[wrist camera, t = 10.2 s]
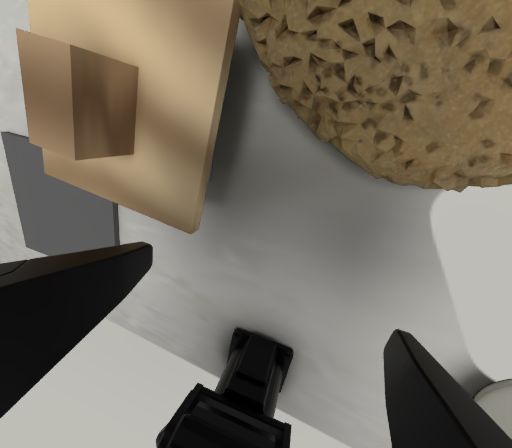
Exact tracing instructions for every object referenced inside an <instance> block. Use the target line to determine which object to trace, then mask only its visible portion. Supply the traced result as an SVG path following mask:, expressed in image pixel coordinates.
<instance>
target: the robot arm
mask: <svg viewBox="0 0 512 448" xmlns="http://www.w3.org/2000/svg"><path fill="white" fill-rule="evenodd" d="M152 261H153V247H152V245H150V244H148V243H145V242H136V243H130V244H124V245H117V246H111V247H104V248H98V249H92V250H85V251H79V252H73V253H66V254H60V255H54V256H47V257H41V258H35V259H30V260H22V261H15V262H9V263H2V264H0V418H1V417H2V416H3V415H4V414H5V413H6V412H8V410H10V408H12V407H13V406H14V405H15V404H16V403H17V402H18V401H19V400H20V399H21V398H22V397H23V396H24V395H25V394H26V393H27V392H28V391H29V390H30V389H31V388H32V387H33V386H34V385H35V384H36V383H38V382H39V381H40V379H42V378H43V376H45V374H47V373H48V372H49V371H50V370H51V369H52V368H53V367H54V366H55V365H56V364H57V363H58V362H59V361H60V360H61V359H62V358H63V357H64V356H65V355H66V354H68V353H69V352H70V351H71V350H72V349H73V348H74V347H75V346H76V345H77V344H78V343H79V342H80V341H81V340H82V339H83V338H84V337H85V336H86V335H87V334H88V333H89V332H90V331H91V330H92V329H93V328H94V327H95V326H96V325H98V323H100V322H101V321H102V320H103V319H104V318H105V317H106V316H107V315H108V314H109V313H110V312H111V311H112V310H113V309H114V308H115V307H116V306H117V305H118V304H119V303H120V302H121V301H122V300H123V299H124V298H125V297H126V296H127V295H128V294H129V293H130V292H131V290H132V289H133V288H134V287H135V286H136V285H137V283H138V282H139V281H140V280H141V279H142V277H143V276H144V275H145V274H146V273H147V272H148V270H149V269H150V268H151V266H152ZM288 353H289V354H288ZM292 358H293V350H292V349H290V348H287V347H285V346H282V345H280V344H277V343H275V342H272V341H269V340H267V339H264V338H262V337H259V336H257V335H254V334H252V333H249V332H246V331H244V330H241V329H238V328H237V329H235V330H234V332H233V335H232V340H231V345H230V350H229V355H228V361H227V365H226V368H225V370H224V372H223V374H222V376H221V378H220V381H219V383H218V385H217V387H216V389H215V391H212V390H210V389H208V388H206V387H203V385H202V384H199V383H197V385H196V386H195V388H194V389H193V390H191V391H190V393H189V394H188V395H187V397H186V398H185V400H184V401H183V403H182V404H181V406H180V407H179V408H178V410H177V411H176V413H175V414H174V416H173V417H172V419H171V420H170V422H169V423H168V424H167V425H166V426H165V427H164V428H163V429H162V430H161V432H160V433H159V434H158V436H157V439H156V446H157V448H290V436H291V425H290V424H288V423H286V422H285V423H283V422H280V421H278V420H276V419H274V418H273V417H274V413H275V408H276V403H277V398H278V394H279V393H280V392H281V389H282V386H283V383H284V380H285V378H286V375H287V372H288V369H289V366H290V363H291V361H292ZM384 378H385V399H386V409H387V416H388V422H389V429H390V436H391V442H392V448H512V439H511V438H510V437H509V436H508V435H507V434H506V433H505V432H504V431H503V430H502V429H501V428H500V427H499V425H498V424H497V423H496V422H495V421H494V420H493V419H492V418H491V417H490V416H489V415H488V414H487V413H486V412H485V411H484V410H483V409H482V408H481V407H480V406H479V405H478V404H477V402H476V401H475V400H474V399H473V398H472V397H471V396H470V395H469V394H468V393H467V392H466V391H465V390H464V389H463V388H462V387H461V386H460V385H459V384H458V383H457V382H456V381H455V379H454V378H453V377H452V376H451V375H450V374H449V373H448V372H447V371H446V370H445V369H444V368H443V367H442V366H441V365H440V364H439V363H438V362H437V361H436V360H435V359H434V358H433V357H432V355H431V354H430V353H429V352H428V351H427V350H426V349H425V348H424V347H423V346H422V345H421V344H420V343H419V342H418V341H417V340H416V339H415V338H414V337H413V336H412V335H411V334H410V333H408V332H405V331H402V330H399V329H396V330H394V331H393V333H392V335H391V337H390V338H389V340H388V342H387V344H386V345H385V348H384Z"/></svg>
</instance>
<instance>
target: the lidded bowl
mask: <svg viewBox="0 0 512 448" xmlns="http://www.w3.org/2000/svg"><path fill="white" fill-rule="evenodd" d="M474 400H475V401H476V402H477V404H478V405H479V406H480V407H481V408H482V409H483V410H484V411H485V412H486V413H487V414H488V415H489V416H490V417H491V418H492V419H493V420H494V421H495V422H496V423H497V424H498V425H499V427H500V428H501V429H502V430H503V431H504V432H505V433H506V434H507V435H508V436H509V437H510V438H511V439H512V379H507V380H502V381H498V382H495V383H492V384H490V385H488V386H486V387H484V388H483V389H481V390H480V391H479V392H478V393H477V394H476V396H475V397H474Z"/></svg>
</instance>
